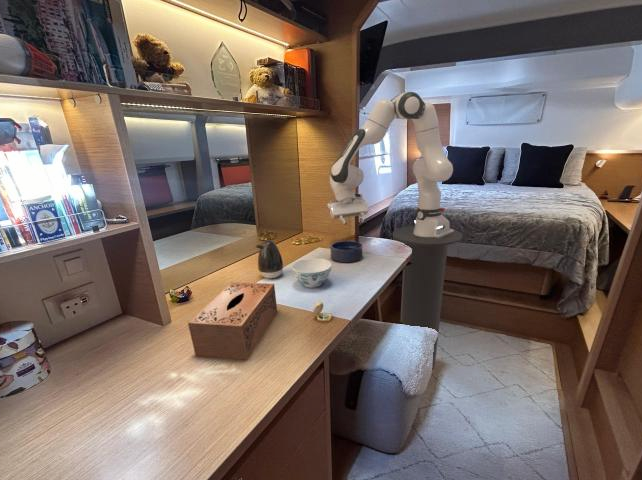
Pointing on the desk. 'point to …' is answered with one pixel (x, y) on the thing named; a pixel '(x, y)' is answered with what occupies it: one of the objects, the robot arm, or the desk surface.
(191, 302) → the desk surface
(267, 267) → the pump dispenser
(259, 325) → the tissue box cover
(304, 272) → the chinaware
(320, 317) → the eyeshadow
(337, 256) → the bowl
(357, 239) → the stirring stick
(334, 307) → the desk surface
